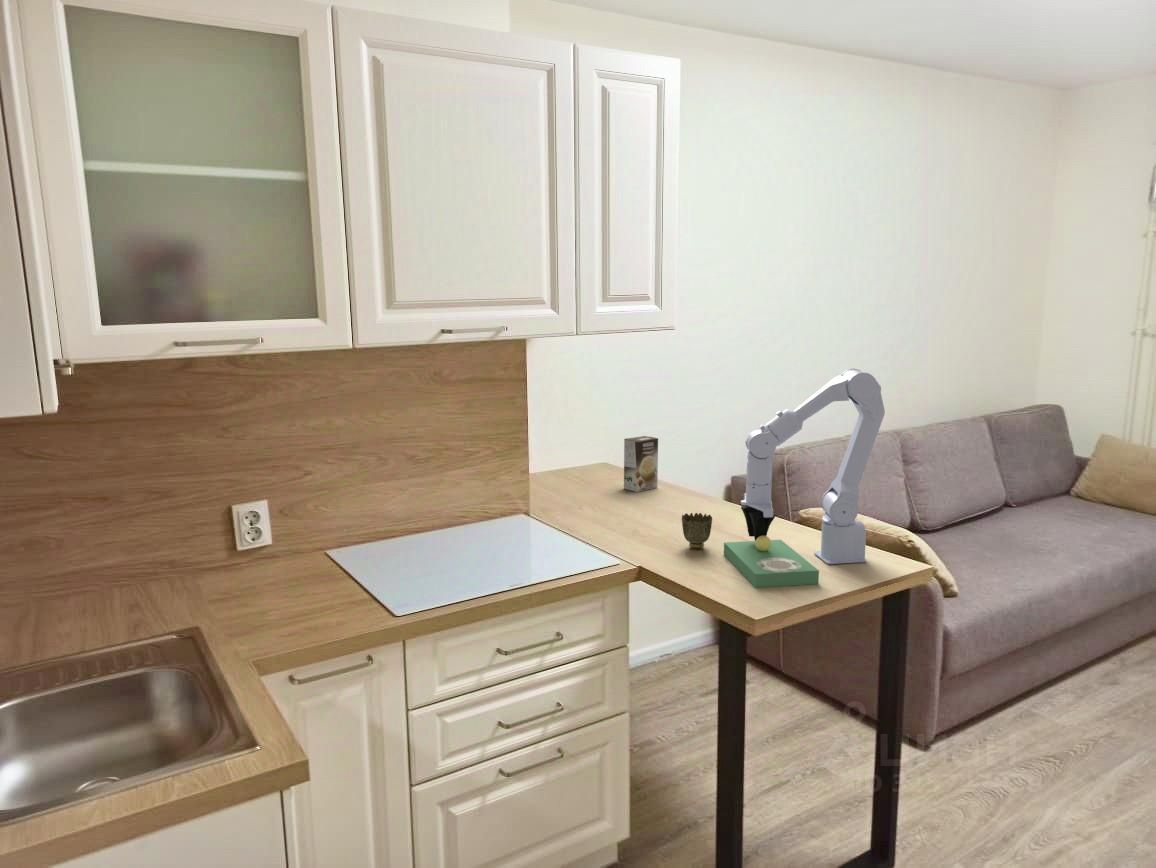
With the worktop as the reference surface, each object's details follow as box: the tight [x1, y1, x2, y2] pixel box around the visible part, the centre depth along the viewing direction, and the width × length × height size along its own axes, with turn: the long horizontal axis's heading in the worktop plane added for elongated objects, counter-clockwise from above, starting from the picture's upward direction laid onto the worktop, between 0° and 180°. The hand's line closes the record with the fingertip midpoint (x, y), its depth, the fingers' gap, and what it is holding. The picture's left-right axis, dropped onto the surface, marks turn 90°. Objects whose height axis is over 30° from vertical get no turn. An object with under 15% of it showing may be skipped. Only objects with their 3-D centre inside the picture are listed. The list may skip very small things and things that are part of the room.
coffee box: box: [623, 435, 659, 493], centre depth 260 cm, size 9×6×16 cm
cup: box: [681, 512, 713, 550], centre depth 202 cm, size 8×7×8 cm
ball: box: [754, 535, 772, 551], centre depth 190 cm, size 4×4×4 cm
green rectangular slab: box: [723, 539, 820, 589], centre depth 187 cm, size 14×22×3 cm, turn 8°
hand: (756, 538), depth 194 cm, fingers open, 4 cm apart
